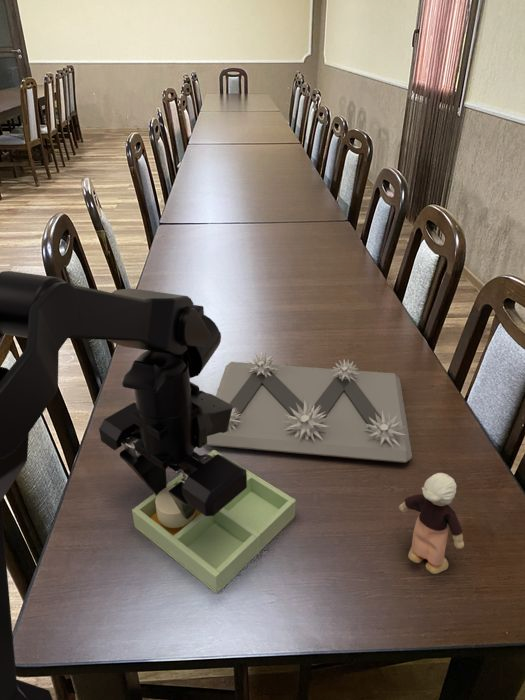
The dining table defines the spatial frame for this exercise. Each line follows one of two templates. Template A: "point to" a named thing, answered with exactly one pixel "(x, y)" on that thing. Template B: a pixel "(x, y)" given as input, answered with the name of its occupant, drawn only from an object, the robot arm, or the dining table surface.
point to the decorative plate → (314, 411)
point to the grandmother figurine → (434, 522)
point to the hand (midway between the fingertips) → (175, 506)
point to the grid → (221, 531)
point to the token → (169, 510)
